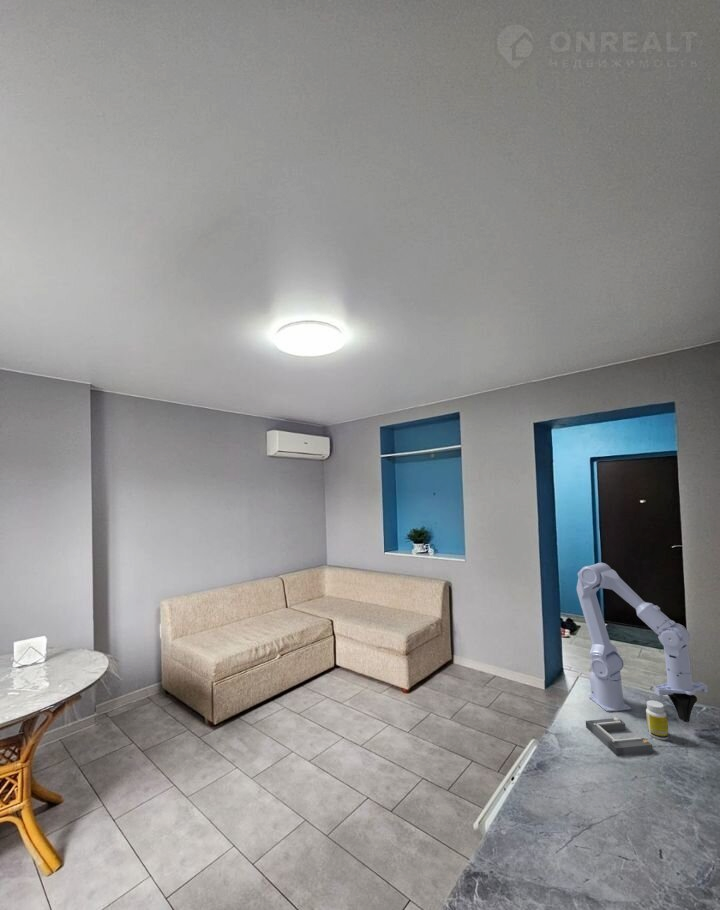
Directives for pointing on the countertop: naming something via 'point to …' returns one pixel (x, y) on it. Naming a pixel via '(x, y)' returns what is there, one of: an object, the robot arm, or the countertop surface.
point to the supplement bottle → (657, 720)
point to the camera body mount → (619, 745)
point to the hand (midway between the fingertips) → (684, 720)
